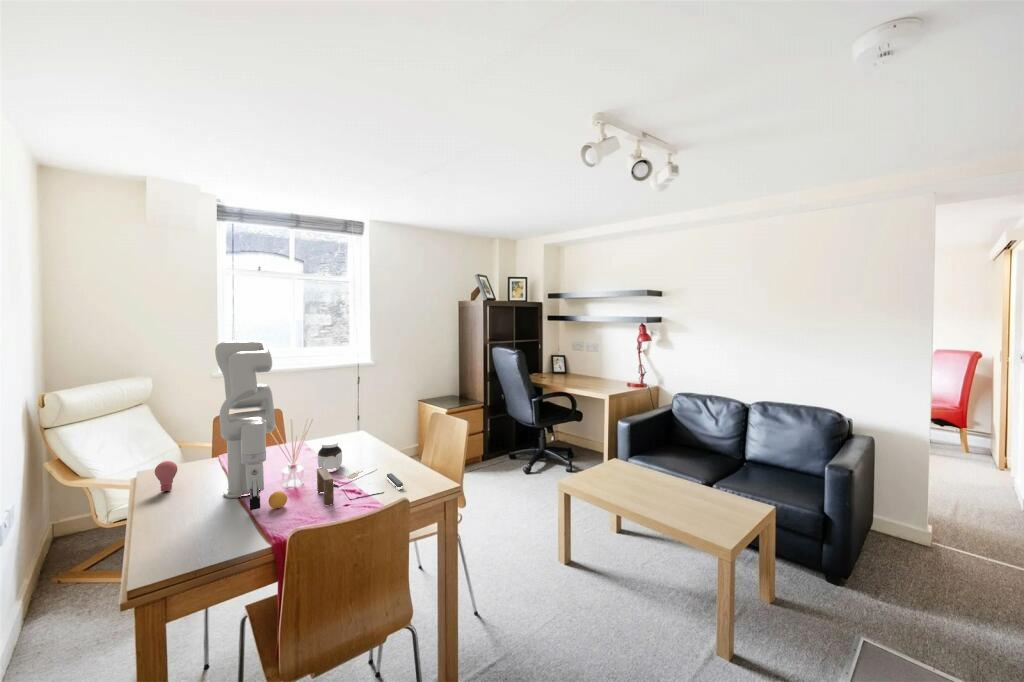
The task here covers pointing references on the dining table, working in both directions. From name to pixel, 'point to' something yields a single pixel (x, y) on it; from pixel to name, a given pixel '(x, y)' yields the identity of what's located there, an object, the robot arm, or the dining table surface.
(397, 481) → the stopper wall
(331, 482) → the bridge
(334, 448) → the spread jar
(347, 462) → the dining table surface
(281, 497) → the ball
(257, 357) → the robot arm
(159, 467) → the light bulb
